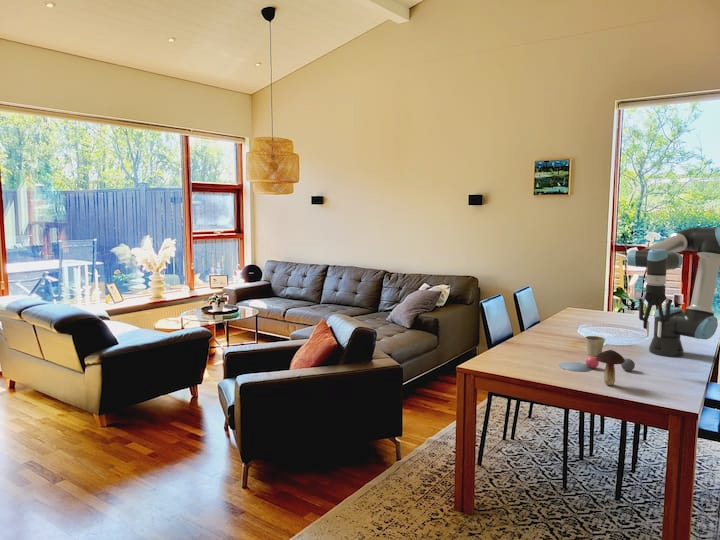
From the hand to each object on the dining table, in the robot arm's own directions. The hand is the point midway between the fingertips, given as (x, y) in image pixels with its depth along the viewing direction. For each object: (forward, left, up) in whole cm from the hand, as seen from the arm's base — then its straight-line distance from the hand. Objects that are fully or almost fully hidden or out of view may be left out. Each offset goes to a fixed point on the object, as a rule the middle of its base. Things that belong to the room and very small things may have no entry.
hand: (653, 336), depth 235 cm
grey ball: (+9, 0, -14) cm, 17 cm away
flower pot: (+20, -24, -17) cm, 36 cm away
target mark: (+31, 0, -17) cm, 36 cm away
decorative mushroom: (+20, +23, -17) cm, 35 cm away
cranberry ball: (+24, 0, -14) cm, 28 cm away
